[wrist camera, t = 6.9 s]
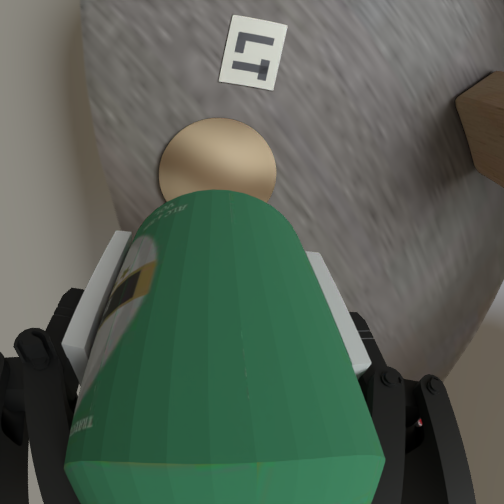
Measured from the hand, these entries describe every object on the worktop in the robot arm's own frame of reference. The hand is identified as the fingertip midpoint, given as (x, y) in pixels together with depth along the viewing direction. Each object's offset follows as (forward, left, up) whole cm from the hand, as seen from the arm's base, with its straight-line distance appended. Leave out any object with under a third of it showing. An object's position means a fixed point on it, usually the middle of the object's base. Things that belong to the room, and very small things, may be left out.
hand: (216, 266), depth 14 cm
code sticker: (-11, +1, -13) cm, 17 cm away
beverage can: (0, 0, -1) cm, 1 cm away
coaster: (0, 0, -13) cm, 13 cm away
